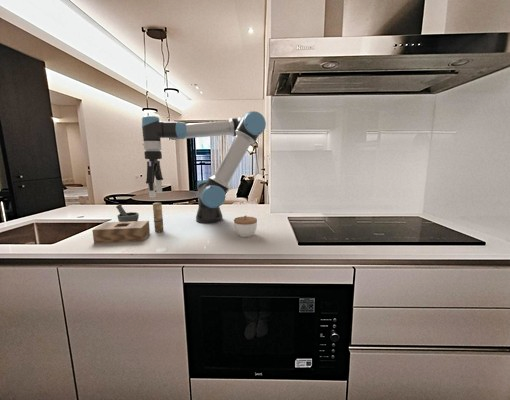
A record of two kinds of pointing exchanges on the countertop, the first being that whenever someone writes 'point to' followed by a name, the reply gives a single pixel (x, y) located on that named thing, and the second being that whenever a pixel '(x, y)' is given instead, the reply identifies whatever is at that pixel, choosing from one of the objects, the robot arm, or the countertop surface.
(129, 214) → the mortar and pestle
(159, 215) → the dowel
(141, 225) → the socket block
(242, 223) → the lidded jar
